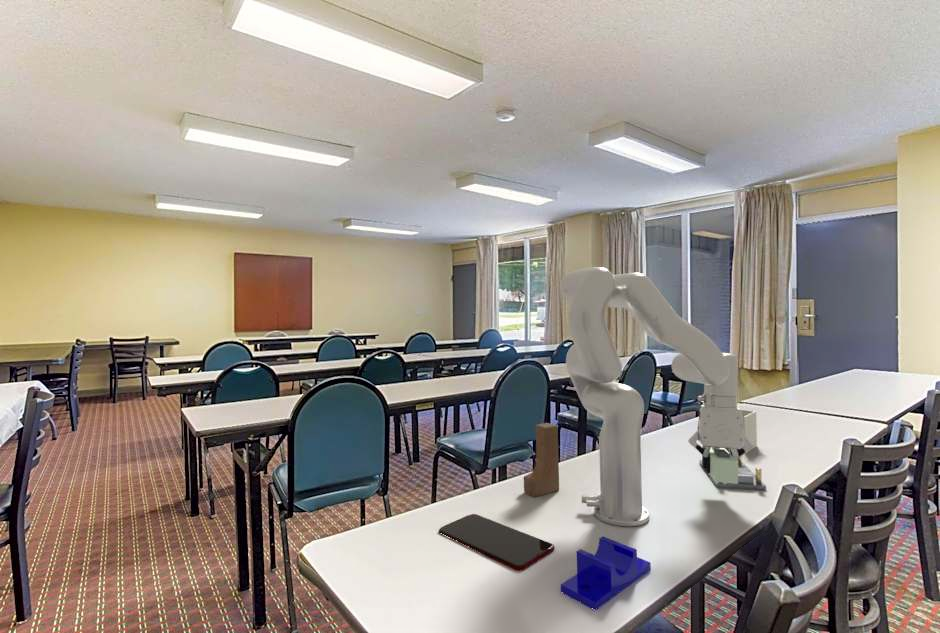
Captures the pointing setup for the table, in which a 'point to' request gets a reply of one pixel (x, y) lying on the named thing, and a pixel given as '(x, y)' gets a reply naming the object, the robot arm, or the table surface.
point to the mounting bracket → (604, 573)
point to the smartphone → (498, 541)
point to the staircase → (750, 427)
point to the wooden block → (544, 462)
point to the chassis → (743, 478)
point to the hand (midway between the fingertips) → (719, 471)
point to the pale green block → (723, 466)
